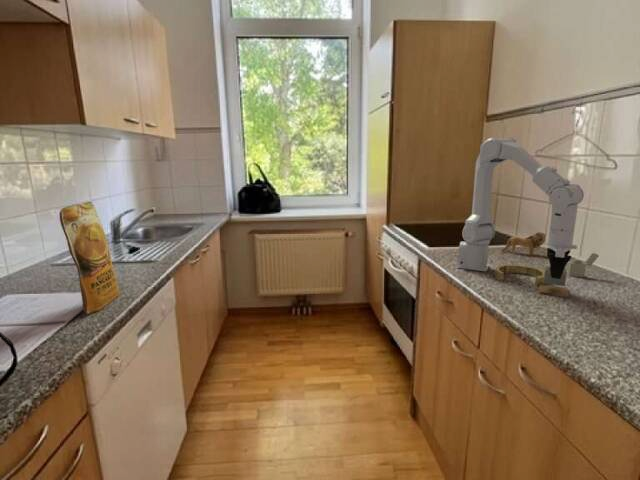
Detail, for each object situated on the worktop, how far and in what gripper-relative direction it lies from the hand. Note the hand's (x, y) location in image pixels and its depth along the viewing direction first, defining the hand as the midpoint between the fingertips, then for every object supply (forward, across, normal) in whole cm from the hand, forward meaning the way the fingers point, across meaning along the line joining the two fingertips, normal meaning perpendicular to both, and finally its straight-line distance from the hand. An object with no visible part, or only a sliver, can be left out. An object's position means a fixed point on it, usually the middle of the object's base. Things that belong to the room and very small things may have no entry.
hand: (555, 275), depth 104 cm
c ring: (+5, +10, +9) cm, 15 cm away
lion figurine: (+5, +42, +10) cm, 44 cm away
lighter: (+5, +20, -8) cm, 22 cm away
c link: (+2, 0, 0) cm, 2 cm away
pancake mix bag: (+5, -69, +109) cm, 129 cm away
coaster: (+5, 0, 0) cm, 5 cm away
